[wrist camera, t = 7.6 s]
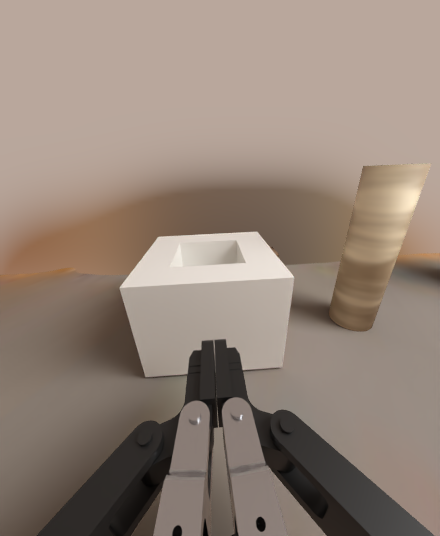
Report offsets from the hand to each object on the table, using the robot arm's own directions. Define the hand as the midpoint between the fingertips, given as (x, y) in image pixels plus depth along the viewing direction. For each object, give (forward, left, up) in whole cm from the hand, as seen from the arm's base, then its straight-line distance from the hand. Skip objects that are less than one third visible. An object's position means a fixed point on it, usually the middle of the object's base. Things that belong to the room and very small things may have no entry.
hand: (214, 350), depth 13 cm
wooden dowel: (+17, -5, -6) cm, 19 cm away
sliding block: (+6, +6, -6) cm, 11 cm away
